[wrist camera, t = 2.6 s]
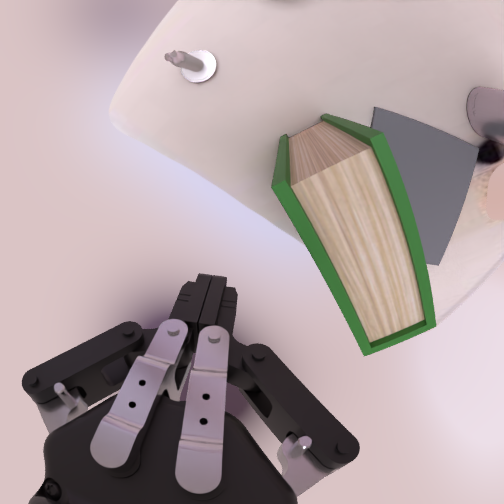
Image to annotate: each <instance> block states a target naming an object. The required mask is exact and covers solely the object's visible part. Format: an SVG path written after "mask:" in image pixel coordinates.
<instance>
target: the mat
mask: <svg viewBox="0 0 504 504" xmlns="http://www.w3.org/2000/svg"><path fill="white" fill-rule="evenodd" d="M371 128H372V129H375V130H378V131H381V132H383V133H384V135H385V138H386V140H387V142H388V144H389V147H390V149H391V152H392V154H393V157H394V159H395V162H396V164H397V167H398V169H399V172H400V175H401V178H402V180H403V183H404V186H405V189H406V192H407V195H408V198H409V201H410V204H411V207H412V211H413V214H414V217H415V221H416V224H417V228H418V232H419V236H420V239H421V243H422V248H423V252H424V256H425V261H426V264H432V265H438V266H439V264H440V261H441V259H442V257H443V255H444V252H445V250H446V248H447V246H448V243H449V241H450V238H451V236H452V234H453V231H454V228H455V226H456V223H457V221H458V218H459V215H460V212H461V210H462V207H463V204H464V201H465V198H466V195H467V192H468V188H469V185H470V182H471V178H472V175H473V171H474V167H475V164H476V160H477V155H478V151H479V148H477V147H475V146H473V145H471V144H469V143H467V142H465V141H463V140H461V139H459V138H457V137H454V136H452V135H450V134H448V133H446V132H443V131H441V130H439V129H436V128H434V127H431V126H429V125H427V124H424V123H421V122H419V121H416V120H414V119H411V118H408V117H405V116H402V115H399V114H397V113H394V112H390V111H387V110H384V109H381V108H378V107H374V113H373V118H372V124H371Z"/></svg>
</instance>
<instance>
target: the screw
mask: <svg viewBox="0 0 504 504" xmlns="http://www.w3.org/2000/svg"><path fill="white" fill-rule="evenodd" d="M165 59H166V60H167V61H169V62H171V63H172V64H173V65H175V66H177V67H181V72H182V75H183V76H184V77H185V78H186V79H187V80H189V81H191V82H203V81H205V80H207V79H209V78H210V77H211V76H212V75H213V74H214V72H215V69H216V60H215V58H214V56H213V55H212V54H211V53H209V52H207V51H204V50H196V51H193V52H190V53H189V54H188V53H185V52H182V51H175V50H174V51H173V52H171V53H167V54H165Z"/></svg>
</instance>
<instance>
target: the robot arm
mask: <svg viewBox="0 0 504 504" xmlns="http://www.w3.org/2000/svg"><path fill="white" fill-rule="evenodd" d="M467 113H468V118H469V121H470V124H471V126H472V127H473V129H474V130H475V132H476V133H477V134H479V135H480V136H482V137H485V138H487V139H490V140H493V141H495V142H498V143H500V144H503V145H504V90H499V89H493V88H485V87H477V88H475V89H473V90H472V91H471V93H470V95H469V97H468V101H467ZM226 283H227V277H222V276H215V275H213V276H212V275H207V274H200V273H199V274H198V277H197V279H196V282H190V281H188V282H187V283H186V284H185V285H183V286H182V288H181V290H180V293H179V295H178V298H177V300H176V302H175V305H174V307H173V310H172V312H171V314H170V317H169V320H166V321H164V322H163V323H162V324H161V325H160V327H159V328H155V329H142V328H141V326H140V325H139V324H138V323H136V322H131V321H129V322H124V323H121V324H120V325H118V326H116V327H114V328H112V329H110V330H108V331H106V332H104V333H102V334H100V335H98V336H96V337H94V338H92V339H90V340H88V341H86V342H84V343H82V344H80V345H78V346H77V347H74V348H72V349H70V350H68V351H66V352H64V353H62V354H60V355H58V356H56V357H54V358H52V359H50V360H48V361H46V362H45V363H42V364H40V365H39V366H36V367H35V368H32V369H30V370H29V371H27V372H26V373H25V374H24V376H23V379H22V386H23V389H24V390H25V391H26V393H27V394H28V395H29V396H30V397H31V398H32V400H33V401H34V402H35V403H36V404H37V406H38V409H39V411H40V413H41V416H42V418H43V421H44V423H45V425H46V427H47V430H48V432H49V435H48V437H47V439H46V440H45V443H44V451H43V452H44V460H45V480H44V482H43V484H42V486H41V487H40V489H39V490H38V491H37V492H36V494H35V495H34V496H33V497H32V498H31V499H30V501H29V504H298V502H297V496H299V495H300V494H302V493H303V492H305V491H306V490H307V489H309V488H310V487H312V486H313V485H315V484H316V483H317V482H319V481H320V480H321V479H323V478H324V477H326V476H328V475H329V474H331V473H333V472H335V471H336V470H338V469H340V468H341V467H343V466H345V465H346V464H348V463H350V462H351V461H353V460H354V459H355V458H356V457H357V455H358V454H359V449H360V446H359V442H358V441H357V439H356V438H355V437H354V436H353V435H352V434H351V433H350V432H349V431H348V430H347V429H346V428H345V427H344V426H343V425H342V424H341V423H340V422H339V421H338V420H337V419H336V418H335V417H334V416H333V415H332V414H331V413H330V412H329V411H328V410H327V409H326V408H325V407H324V406H323V405H322V404H321V403H320V402H319V400H317V399H316V397H315V396H314V395H313V394H312V393H311V392H310V391H309V390H308V389H307V388H306V387H305V386H304V385H303V384H302V383H301V381H299V379H298V378H297V377H296V376H295V375H294V374H293V373H292V372H291V371H290V370H289V369H288V368H287V366H286V365H285V364H284V363H283V362H282V361H281V360H280V359H279V358H278V356H277V355H276V354H275V353H274V352H273V351H272V350H271V349H270V348H269V347H268V346H266V345H263V344H251V345H249V346H246V345H243V344H241V343H239V342H238V341H236V340H235V339H234V337H233V335H232V334H233V328H234V322H235V316H236V305H237V296H238V294H237V292H236V289H235V288H233V287H226ZM193 353H196V356H195V363H194V368H193V369H192V370H191V374H190V380H189V386H188V393H187V399H186V401H180V394H181V391H182V388H183V386H184V383H185V380H186V377H187V375H188V372H189V369H190V366H191V359H192V355H193ZM226 382H228V383H230V384H232V385H235V386H237V387H239V390H240V392H241V393H242V395H243V396H244V397H245V399H246V400H247V401H248V402H249V404H250V405H251V406H252V408H253V409H254V410H255V411H256V413H257V414H258V415H259V416H260V418H261V419H262V420H263V421H264V422H265V424H266V425H267V426H268V427H269V429H270V430H271V431H272V432H273V433H274V435H275V436H276V437H277V438H278V440H279V441H280V442H281V443H282V445H281V446H280V447H279V449H278V452H277V456H278V460H279V461H280V463H281V465H282V469H283V470H282V475H281V474H280V473H279V472H278V470H277V469H276V468H275V467H274V465H273V464H272V463H271V461H270V460H269V459H268V458H267V456H266V455H265V454H264V452H263V451H262V450H261V448H260V447H259V445H258V444H257V443H256V441H255V440H254V439H253V437H252V436H251V434H250V433H249V432H248V430H247V429H246V427H245V426H244V425H243V424H242V423H241V422H240V421H239V420H238V419H237V418H236V417H234V416H233V415H231V414H230V413H228V412H225V397H226ZM119 389H120V391H119V393H118V394H116V395H114V396H112V397H110V398H108V399H107V400H105V401H103V402H102V403H100V404H98V405H97V406H95V407H93V408H92V409H90V410H88V407H89V406H91V405H92V404H94V403H96V402H98V401H100V400H102V399H103V398H105V397H107V396H108V395H111V394H112V393H114V392H116V391H118V390H119ZM87 410H88V411H87Z"/></svg>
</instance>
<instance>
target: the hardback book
mask: <svg viewBox="0 0 504 504" xmlns="http://www.w3.org/2000/svg"><path fill="white" fill-rule="evenodd" d="M321 118H322V120H323V121H322V122H320V123H318V124H316V125H314V126H312V127H310V128H308V129H306V130H304V131H302V132H300V133H298V134H296V135H294V136H292V137H290V138H288V136H287V134H285V135H283V136H281V137H280V142H279V148H278V153H277V159H276V164H275V170H274V175H273V180H272V186H271V188H272V189H273V191H274V193H275V194H276V196H277V198H278V199H279V201H280V203H281V204H282V206H283V208H284V209H285V211H286V213H287V214H288V216H289V218H290V219H291V221H292V223H293V224H294V226H295V228H296V230H297V231H298V233H299V235H300V237H301V238H302V240H303V242H304V244H305V245H306V247H307V249H308V251H309V252H310V254H311V256H312V258H313V259H314V261H315V263H316V265H317V267H318V268H319V270H320V272H321V274H322V276H323V278H324V279H325V281H326V283H327V285H328V287H329V288H330V290H331V292H332V294H333V296H334V298H335V300H336V302H337V304H338V306H339V308H340V309H341V311H342V313H343V315H344V317H345V319H346V321H347V323H348V325H349V327H350V329H351V331H352V333H353V335H354V337H355V339H356V341H357V343H358V345H359V347H360V349H361V351H362V353H363V355H364V356H367V355H370V354H372V353H375V352H378V351H380V350H383V349H385V348H388V347H390V346H393V345H395V344H398V343H400V342H403V341H405V340H407V339H410V338H412V337H414V336H416V335H419V334H421V333H423V332H425V331H427V330H430V329H432V328H434V327H436V320H435V312H434V305H433V298H432V292H431V286H430V280H429V275H428V270H427V265H426V261H425V256H424V252H423V248H422V243H421V239H420V236H419V232H418V228H417V224H416V221H415V217H414V214H413V211H412V207H411V204H410V201H409V198H408V195H407V192H406V189H405V186H404V183H403V180H402V178H401V175H400V172H399V169H398V167H397V164H396V162H395V159H394V157H393V154H392V152H391V149H390V147H389V144H388V142H387V140H386V138H385V135H384V133H383V132H381V131H378V130H375V129H372V128H370V127H367V126H364V125H361V124H358V123H355V122H352V121H349V120H346V119H343V118H340V117H336V116H333V115H330V114H324V115H322V116H321Z"/></svg>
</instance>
